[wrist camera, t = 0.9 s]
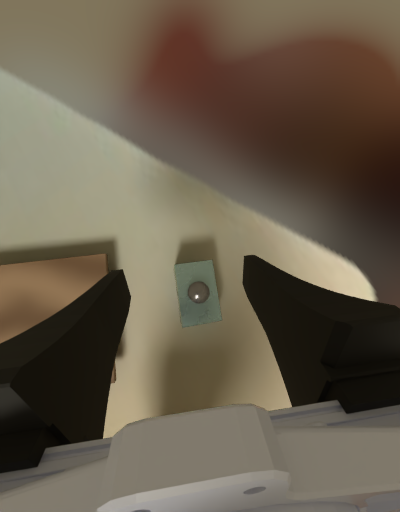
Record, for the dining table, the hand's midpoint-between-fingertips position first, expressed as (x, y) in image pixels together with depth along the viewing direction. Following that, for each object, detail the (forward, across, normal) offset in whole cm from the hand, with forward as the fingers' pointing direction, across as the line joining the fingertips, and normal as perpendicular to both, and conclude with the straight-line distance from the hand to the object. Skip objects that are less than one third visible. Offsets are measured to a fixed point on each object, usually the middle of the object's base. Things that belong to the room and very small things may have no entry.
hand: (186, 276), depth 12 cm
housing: (+11, -1, +10) cm, 15 cm away
